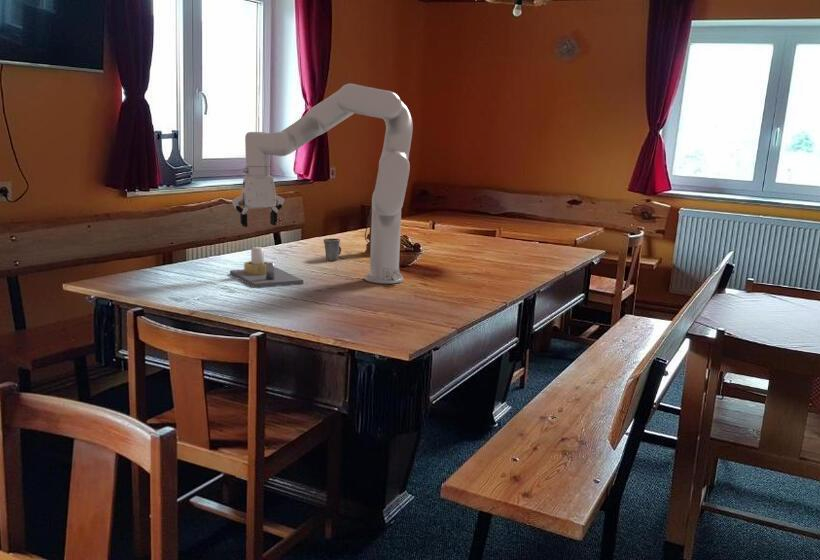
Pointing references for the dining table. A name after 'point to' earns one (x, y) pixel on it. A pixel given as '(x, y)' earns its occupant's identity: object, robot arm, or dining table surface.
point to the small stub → (270, 271)
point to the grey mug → (332, 249)
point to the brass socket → (254, 268)
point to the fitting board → (261, 280)
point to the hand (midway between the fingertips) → (259, 225)
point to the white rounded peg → (257, 256)
